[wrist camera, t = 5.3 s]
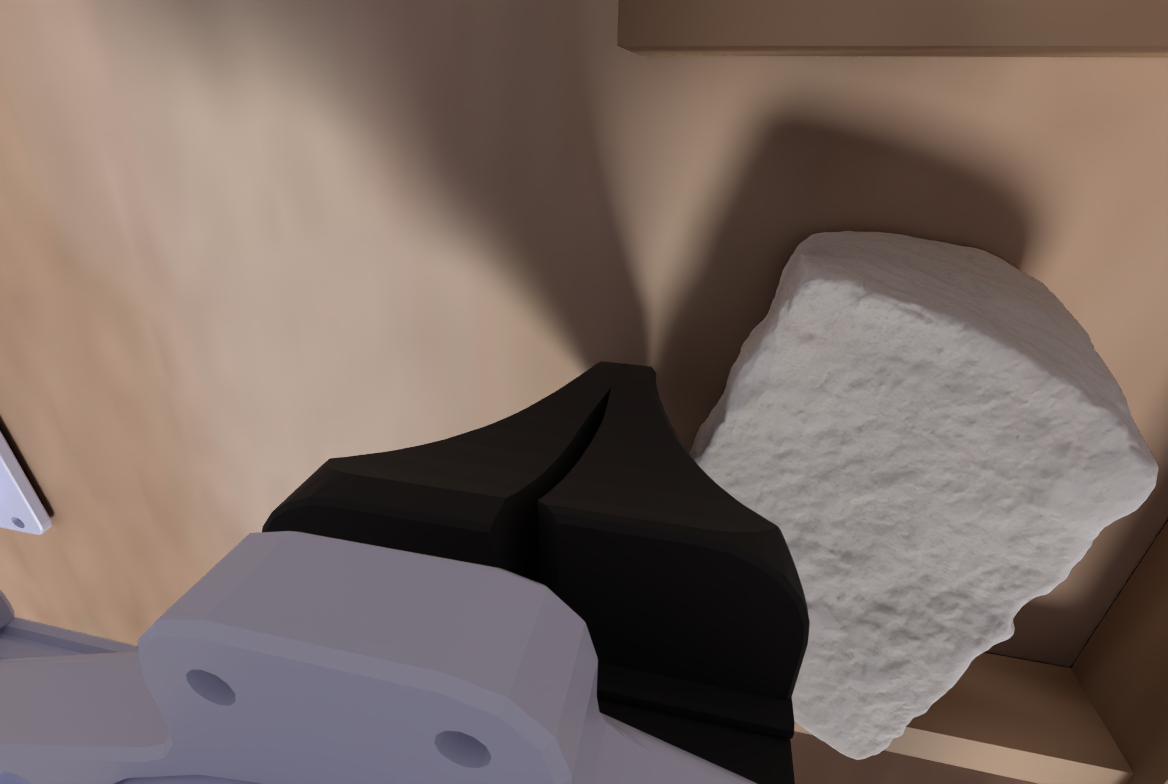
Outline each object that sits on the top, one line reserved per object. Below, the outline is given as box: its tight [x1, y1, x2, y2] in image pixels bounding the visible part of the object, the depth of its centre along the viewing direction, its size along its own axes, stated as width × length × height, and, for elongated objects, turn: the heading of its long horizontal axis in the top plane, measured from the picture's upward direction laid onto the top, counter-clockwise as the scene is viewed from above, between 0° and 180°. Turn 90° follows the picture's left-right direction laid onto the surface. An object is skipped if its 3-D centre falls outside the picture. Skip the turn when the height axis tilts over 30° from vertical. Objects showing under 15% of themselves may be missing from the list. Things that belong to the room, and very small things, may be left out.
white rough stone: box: [689, 231, 1158, 760], centre depth 11 cm, size 10×6×6 cm, turn 158°
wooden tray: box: [617, 0, 1168, 784], centre depth 11 cm, size 12×15×3 cm
